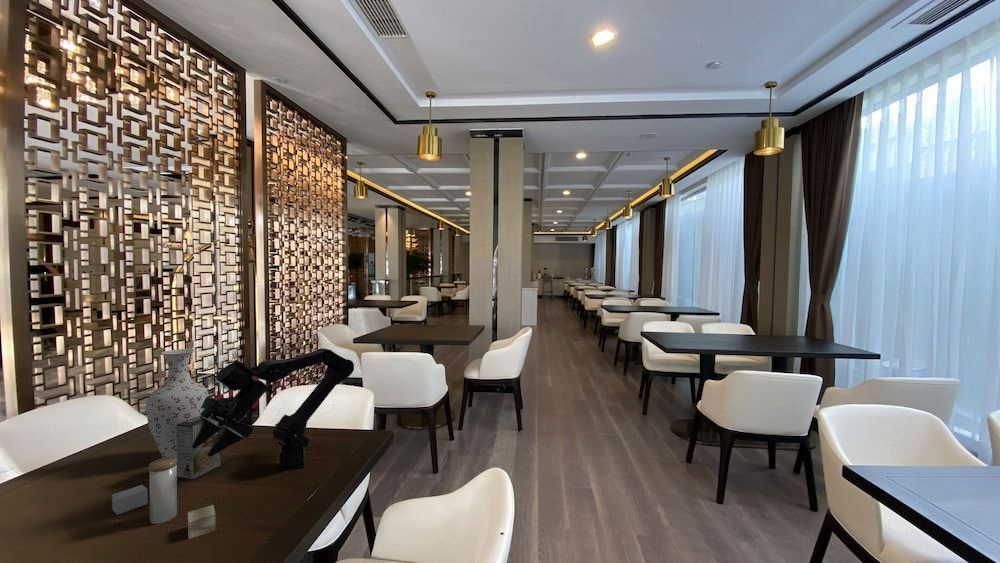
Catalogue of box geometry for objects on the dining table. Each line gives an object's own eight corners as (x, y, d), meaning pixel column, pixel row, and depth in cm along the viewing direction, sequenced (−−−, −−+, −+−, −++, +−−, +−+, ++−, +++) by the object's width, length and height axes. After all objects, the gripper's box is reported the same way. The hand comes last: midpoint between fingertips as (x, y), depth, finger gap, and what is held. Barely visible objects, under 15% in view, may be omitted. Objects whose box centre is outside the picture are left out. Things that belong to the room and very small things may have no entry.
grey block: (142, 499, 109) (142, 484, 109) (147, 504, 106) (147, 489, 106) (112, 510, 104) (112, 494, 104) (117, 515, 101) (116, 499, 101)
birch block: (213, 520, 100) (213, 504, 100) (215, 530, 96) (215, 514, 96) (187, 528, 96) (187, 512, 96) (188, 539, 93) (188, 522, 92)
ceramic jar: (180, 509, 104) (180, 455, 104) (173, 520, 99) (173, 464, 99) (153, 514, 102) (153, 459, 102) (145, 526, 97) (145, 468, 97)
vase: (144, 472, 123) (144, 358, 122) (147, 454, 135) (147, 350, 135) (210, 458, 133) (209, 352, 132) (207, 441, 145) (206, 345, 145)
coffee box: (205, 463, 129) (204, 413, 129) (221, 465, 128) (221, 415, 127) (176, 477, 120) (175, 423, 120) (193, 479, 119) (193, 425, 118)
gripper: (208, 379, 116) (160, 429, 107) (240, 389, 106) (190, 446, 97) (237, 399, 123) (195, 448, 114) (270, 411, 113) (226, 465, 104)
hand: (201, 451), depth 107 cm, fingers open, 9 cm apart
